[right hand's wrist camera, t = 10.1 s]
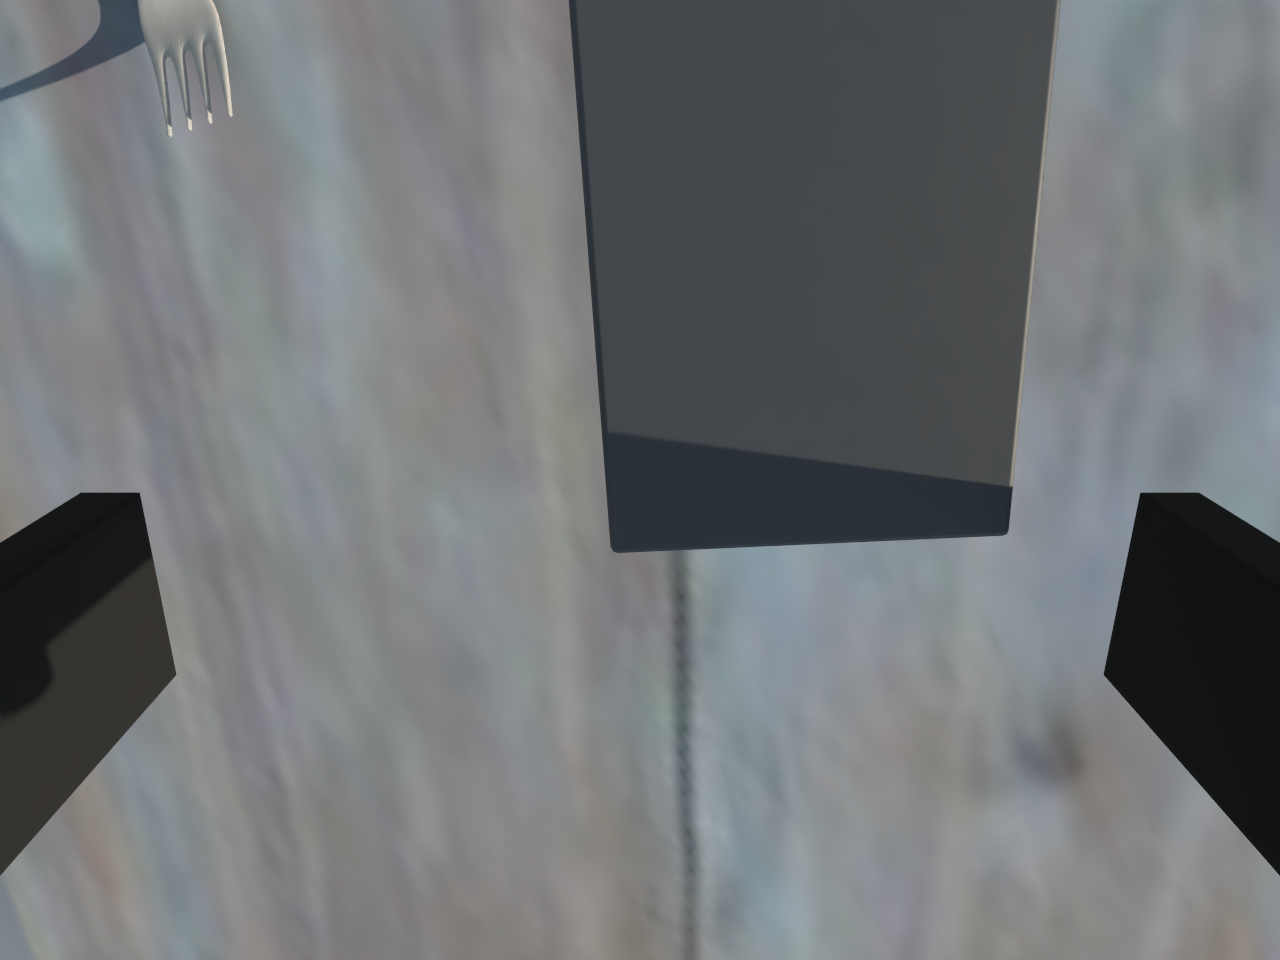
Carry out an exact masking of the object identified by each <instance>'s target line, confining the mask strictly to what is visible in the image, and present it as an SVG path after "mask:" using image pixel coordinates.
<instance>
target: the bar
mask: <svg viewBox="0 0 1280 960" xmlns="http://www.w3.org/2000/svg"><path fill="white" fill-rule="evenodd" d="M1060 5H1061V0H569V8H570V21H571V34H572V48H573V61H574V74H575V87H576V100H577V113H578V126H579V139H580V152H581V165H582V178H583V191H584V205H585V218H586V231H587V244H588V257H589V270H590V283H591V296H592V309H593V322H594V335H595V348H596V362H597V375H598V388H599V401H600V414H601V427H602V440H603V453H604V466H605V479H606V492H607V505H608V518H609V532H610V545H611V548H612V550H613V551H614V552H617V553H625V552H647V551H670V550H692V549H714V548H736V547H758V546H781V545H803V544H825V543H847V542H870V541H892V540H914V539H936V538H958V537H981V536H1003V535H1005V534H1007V532H1008V529H1009V519H1010V509H1011V499H1012V489H1013V479H1014V469H1015V459H1016V449H1017V438H1018V428H1019V418H1020V408H1021V398H1022V388H1023V378H1024V368H1025V358H1026V348H1027V338H1028V328H1029V317H1030V307H1031V297H1032V287H1033V277H1034V267H1035V257H1036V247H1037V237H1038V227H1039V217H1040V207H1041V197H1042V186H1043V176H1044V166H1045V156H1046V146H1047V136H1048V126H1049V116H1050V106H1051V96H1052V86H1053V76H1054V65H1055V55H1056V45H1057V35H1058V25H1059V15H1060Z"/></svg>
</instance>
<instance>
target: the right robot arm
mask: <svg viewBox="0 0 1280 960" xmlns="http://www.w3.org/2000/svg"><path fill="white" fill-rule="evenodd" d="M175 676H176V671H175V666H174V661H173V656H172V651H171V646H170V641H169V636H168V631H167V626H166V621H165V616H164V611H163V606H162V601H161V596H160V591H159V587H158V582H157V577H156V572H155V567H154V562H153V557H152V552H151V547H150V542H149V537H148V532H147V527H146V522H145V517H144V512H143V507H142V502H141V497H140V493H80V494H78V495H77V496H75V497H73V498H72V499H70V500H69V501H67V502H65V503H64V504H62V505H61V506H59V507H57V508H56V509H54V510H52V511H51V512H49V513H48V514H46V515H44V516H43V517H41V518H40V519H38V520H36V521H35V522H33V523H32V524H30V525H28V526H27V527H25V528H23V529H22V530H20V531H19V532H17V533H15V534H14V535H12V536H11V537H9V538H7V539H6V540H4V541H3V542H1V543H0V875H1V874H2V873H3V872H4V871H5V869H6V868H7V867H8V866H9V865H10V864H11V863H12V861H13V860H14V859H15V858H16V857H17V856H18V855H19V853H20V852H21V851H22V850H23V849H24V848H25V847H26V845H27V844H28V843H29V842H30V841H31V840H32V839H33V838H34V836H35V835H36V834H37V833H38V832H39V831H40V830H41V828H42V827H43V826H44V825H45V824H46V823H47V822H48V820H49V819H50V818H51V817H52V816H53V815H54V814H55V812H56V811H57V810H58V809H59V808H60V807H61V806H62V804H63V803H64V802H65V801H66V800H67V799H68V798H69V796H70V795H71V794H72V793H73V792H74V791H75V790H76V788H77V787H78V786H79V785H80V784H81V783H82V782H83V781H84V779H85V778H86V777H87V776H88V775H89V774H90V773H91V771H92V770H93V769H94V768H95V767H96V766H97V765H98V763H99V762H100V761H101V760H102V759H103V758H104V757H105V755H106V754H107V753H108V752H109V751H110V750H111V749H112V747H113V746H114V745H115V744H116V743H117V742H118V741H119V739H120V738H121V737H122V736H123V735H124V734H125V733H126V731H127V730H128V729H129V728H130V727H131V726H132V725H133V724H134V722H135V721H136V720H137V719H138V718H139V717H140V716H141V714H142V713H143V712H144V711H145V710H146V709H147V708H148V706H149V705H150V704H151V703H152V702H153V701H154V700H155V698H156V697H157V696H158V695H159V694H160V693H161V692H162V690H163V689H164V688H165V687H166V686H167V685H168V684H169V682H170V681H171V680H172V679H173V678H174V677H175ZM1104 676H1105V677H1106V678H1107V679H1108V680H1109V681H1110V682H1111V684H1112V685H1113V686H1114V687H1115V688H1116V689H1117V690H1118V692H1119V693H1120V694H1121V695H1122V696H1123V697H1124V698H1125V700H1126V701H1127V702H1128V703H1129V704H1130V705H1131V706H1132V708H1133V709H1134V710H1135V711H1136V712H1137V713H1138V714H1139V716H1140V717H1141V718H1142V719H1143V720H1144V721H1145V722H1146V724H1147V725H1148V726H1149V727H1150V728H1151V729H1152V730H1153V731H1154V733H1155V734H1156V735H1157V736H1158V737H1159V738H1160V739H1161V741H1162V742H1163V743H1164V744H1165V745H1166V746H1167V747H1168V749H1169V750H1170V751H1171V752H1172V753H1173V754H1174V755H1175V757H1176V758H1177V759H1178V760H1179V761H1180V762H1181V763H1182V765H1183V766H1184V767H1185V768H1186V769H1187V770H1188V771H1189V773H1190V774H1191V775H1192V776H1193V777H1194V778H1195V779H1196V781H1197V782H1198V783H1199V784H1200V785H1201V786H1202V787H1203V788H1204V790H1205V791H1206V792H1207V793H1208V794H1209V795H1210V796H1211V798H1212V799H1213V800H1214V801H1215V802H1216V803H1217V804H1218V806H1219V807H1220V808H1221V809H1222V810H1223V811H1224V812H1225V814H1226V815H1227V816H1228V817H1229V818H1230V819H1231V820H1232V822H1233V823H1234V824H1235V825H1236V826H1237V827H1238V828H1239V830H1240V831H1241V832H1242V833H1243V834H1244V835H1245V836H1246V838H1247V839H1248V840H1249V841H1250V842H1251V843H1252V844H1253V845H1254V847H1255V848H1256V849H1257V850H1258V851H1259V852H1260V853H1261V855H1262V856H1263V857H1264V858H1265V859H1266V860H1267V861H1268V863H1269V864H1270V865H1271V866H1272V867H1273V868H1274V869H1275V871H1276V872H1277V873H1278V874H1279V875H1280V543H1279V542H1277V541H1276V540H1274V539H1273V538H1271V537H1269V536H1268V535H1266V534H1265V533H1263V532H1261V531H1260V530H1258V529H1257V528H1255V527H1253V526H1252V525H1250V524H1248V523H1247V522H1245V521H1244V520H1242V519H1240V518H1239V517H1237V516H1236V515H1234V514H1232V513H1231V512H1229V511H1228V510H1226V509H1224V508H1223V507H1221V506H1219V505H1218V504H1216V503H1215V502H1213V501H1211V500H1210V499H1208V498H1207V497H1205V496H1203V495H1202V494H1200V493H1140V497H1139V502H1138V507H1137V512H1136V517H1135V522H1134V527H1133V532H1132V537H1131V542H1130V547H1129V552H1128V557H1127V562H1126V567H1125V572H1124V577H1123V582H1122V586H1121V591H1120V596H1119V601H1118V606H1117V611H1116V616H1115V621H1114V626H1113V631H1112V636H1111V641H1110V646H1109V651H1108V656H1107V661H1106V666H1105V671H1104Z"/></svg>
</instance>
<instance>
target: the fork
mask: <svg viewBox="0 0 1280 960" xmlns="http://www.w3.org/2000/svg"><path fill="white" fill-rule="evenodd" d="M137 4H138V12H139V19H140V24H141V28H142V32H143V36H144V39H145V42H146V45H147V48H148V51H149V54H150V57H151V60H152V64H153V67H154V71H155V75H156V79H157V83H158V88H159V92H160V97H161V101H162V106H163V111H164V116H165V121H166V127H167V135H168V136H169V137H172V127H171V115H170V103H169V94H168V85H167V77H166V69H165V60H166V58H167V57H168V56H169V57H171V59H172V60H173V63H174V66H175V69H176V73H177V78H178V82H179V87H180V91H181V96H182V100H183V105H184V110H185V115H186V120H187V126H188V128H189V130H192V121H191V110H190V99H189V89H188V80H187V73H186V65H185V52H186V51H187V50H190V51H191V52H192V54H193V57H194V60H195V63H196V67H197V72H198V76H199V80H200V85H201V89H202V94H203V98H204V103H205V108H206V113H207V119H208V121H209V123H212V114H211V103H210V93H209V84H208V75H207V67H206V60H205V45H206V43H210V44H211V45H212V47H213V50H214V53H215V57H216V61H217V65H218V69H219V74H220V78H221V82H222V87H223V91H224V95H225V100H226V105H227V113H228V116H230V117H232V106H231V95H230V86H229V77H228V69H227V61H226V55H225V48H224V42H223V36H222V30H221V24H220V20H219V16H218V13H217V10H216V7H215V5H214V3H213V1H212V0H137Z"/></svg>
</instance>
